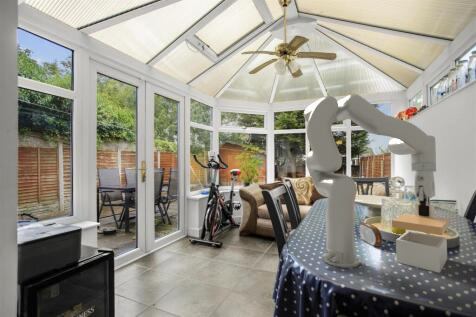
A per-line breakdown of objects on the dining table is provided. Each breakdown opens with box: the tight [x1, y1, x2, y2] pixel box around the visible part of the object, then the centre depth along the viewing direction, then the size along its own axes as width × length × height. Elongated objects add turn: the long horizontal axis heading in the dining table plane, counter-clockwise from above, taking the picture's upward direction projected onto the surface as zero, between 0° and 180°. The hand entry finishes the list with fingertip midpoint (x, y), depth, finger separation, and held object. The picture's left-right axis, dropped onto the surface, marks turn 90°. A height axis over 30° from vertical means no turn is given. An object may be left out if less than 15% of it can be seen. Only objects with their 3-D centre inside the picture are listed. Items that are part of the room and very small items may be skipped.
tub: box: [395, 230, 448, 274], centre depth 87 cm, size 16×12×8 cm
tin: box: [358, 221, 383, 247], centre depth 106 cm, size 15×3×8 cm, turn 179°
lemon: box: [391, 226, 407, 235], centre depth 109 cm, size 6×6×8 cm
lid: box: [391, 202, 451, 236], centre depth 87 cm, size 18×14×8 cm
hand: (424, 215), depth 91 cm, fingers closed
